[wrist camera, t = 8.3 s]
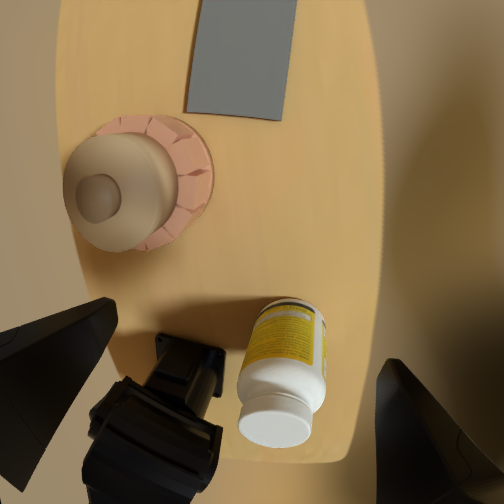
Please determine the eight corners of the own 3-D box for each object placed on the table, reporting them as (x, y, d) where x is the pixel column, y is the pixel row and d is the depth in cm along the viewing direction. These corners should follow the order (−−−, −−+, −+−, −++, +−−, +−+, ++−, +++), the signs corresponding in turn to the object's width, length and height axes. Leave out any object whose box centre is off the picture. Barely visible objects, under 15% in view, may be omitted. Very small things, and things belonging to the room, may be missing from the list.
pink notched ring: (209, 240, 21) (191, 261, 18) (111, 222, 22) (84, 238, 19) (220, 118, 18) (201, 117, 15) (112, 115, 19) (81, 117, 16)
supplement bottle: (241, 317, 23) (204, 416, 14) (299, 283, 21) (286, 388, 12) (283, 360, 24) (265, 460, 16) (338, 333, 22) (343, 439, 13)
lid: (176, 243, 18) (146, 271, 14) (93, 226, 18) (57, 248, 15) (182, 133, 15) (147, 137, 12) (91, 131, 16) (49, 138, 12)
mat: (281, 120, 17) (280, 120, 17) (188, 112, 18) (186, 112, 17) (297, -6, 13) (297, -8, 13) (206, -8, 14) (204, -10, 14)
